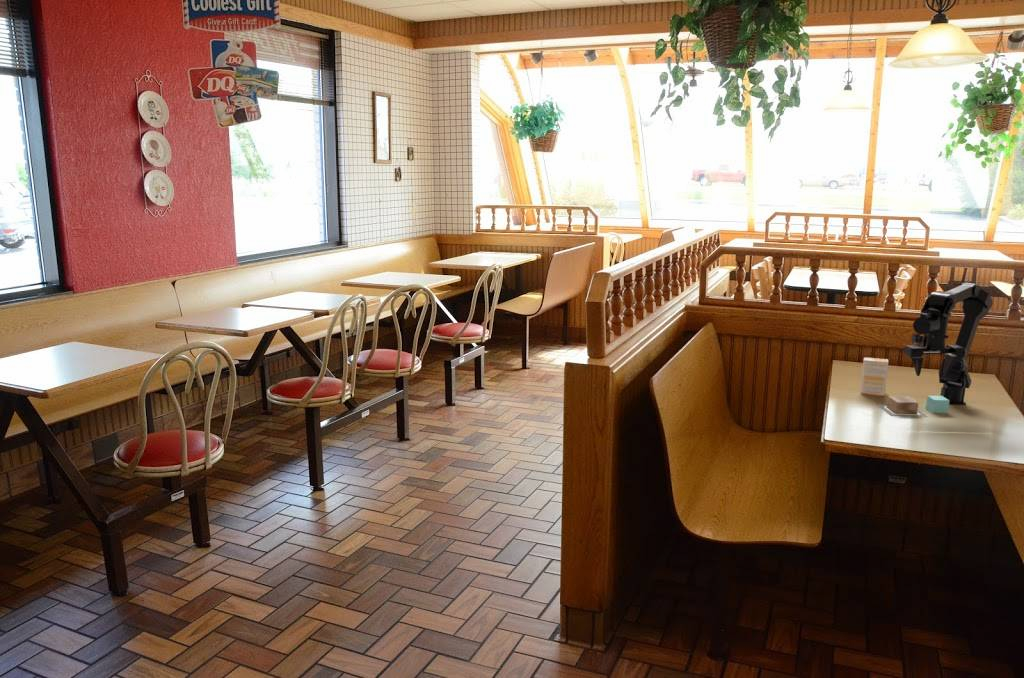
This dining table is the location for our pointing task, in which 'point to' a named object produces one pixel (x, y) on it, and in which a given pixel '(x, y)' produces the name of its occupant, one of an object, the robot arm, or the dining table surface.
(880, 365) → the supplement box
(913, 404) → the walnut block
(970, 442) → the dining table surface
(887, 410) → the mat
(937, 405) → the teal cube
